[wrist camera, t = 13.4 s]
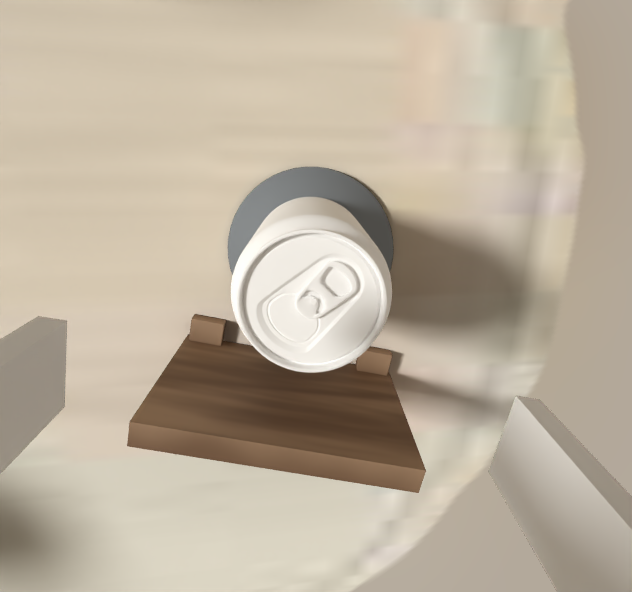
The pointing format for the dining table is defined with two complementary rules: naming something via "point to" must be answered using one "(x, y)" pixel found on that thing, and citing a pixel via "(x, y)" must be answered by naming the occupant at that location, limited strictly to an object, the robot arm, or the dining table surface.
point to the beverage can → (311, 287)
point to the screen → (279, 413)
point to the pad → (309, 185)
